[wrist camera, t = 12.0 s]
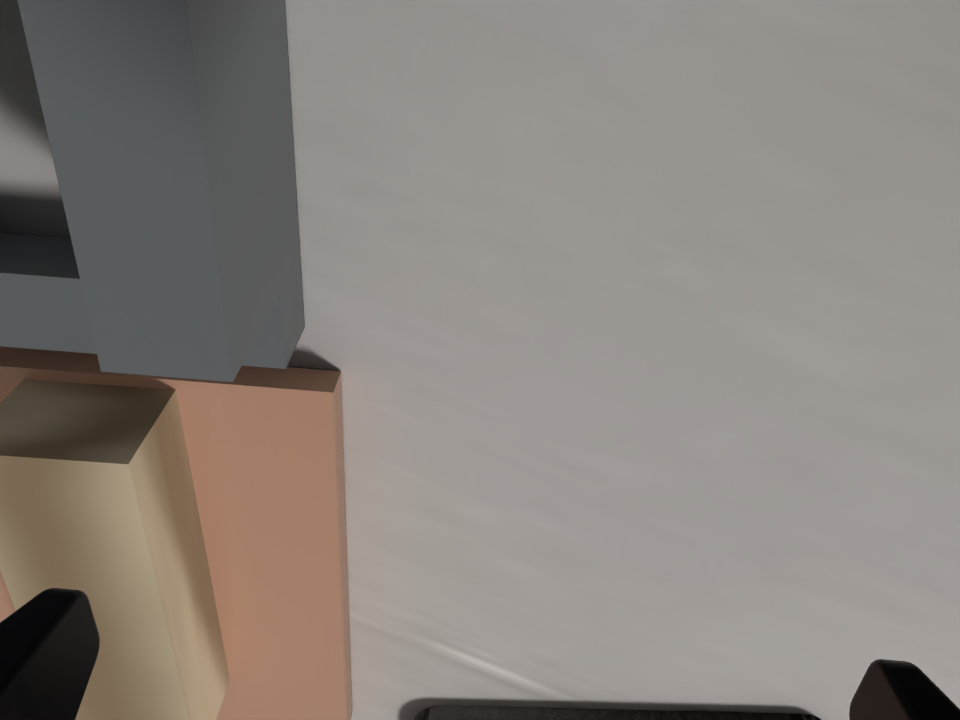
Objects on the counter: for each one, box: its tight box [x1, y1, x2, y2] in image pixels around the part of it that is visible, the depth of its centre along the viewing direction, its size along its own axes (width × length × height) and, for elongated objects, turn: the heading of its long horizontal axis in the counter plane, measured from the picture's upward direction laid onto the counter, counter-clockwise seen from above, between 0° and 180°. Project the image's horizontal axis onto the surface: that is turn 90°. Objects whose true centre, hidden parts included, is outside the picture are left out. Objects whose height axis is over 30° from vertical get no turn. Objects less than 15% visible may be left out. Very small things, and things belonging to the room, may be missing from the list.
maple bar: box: [0, 379, 230, 720], centre depth 23 cm, size 4×12×3 cm, turn 177°
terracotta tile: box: [0, 346, 352, 720], centre depth 25 cm, size 12×15×1 cm
